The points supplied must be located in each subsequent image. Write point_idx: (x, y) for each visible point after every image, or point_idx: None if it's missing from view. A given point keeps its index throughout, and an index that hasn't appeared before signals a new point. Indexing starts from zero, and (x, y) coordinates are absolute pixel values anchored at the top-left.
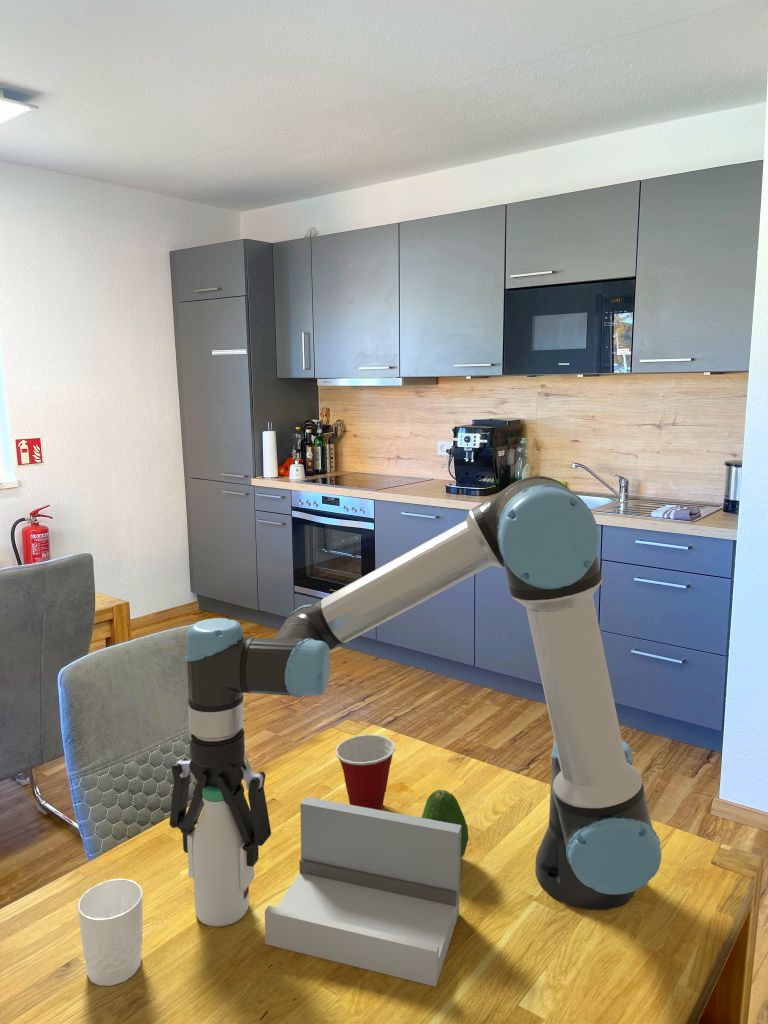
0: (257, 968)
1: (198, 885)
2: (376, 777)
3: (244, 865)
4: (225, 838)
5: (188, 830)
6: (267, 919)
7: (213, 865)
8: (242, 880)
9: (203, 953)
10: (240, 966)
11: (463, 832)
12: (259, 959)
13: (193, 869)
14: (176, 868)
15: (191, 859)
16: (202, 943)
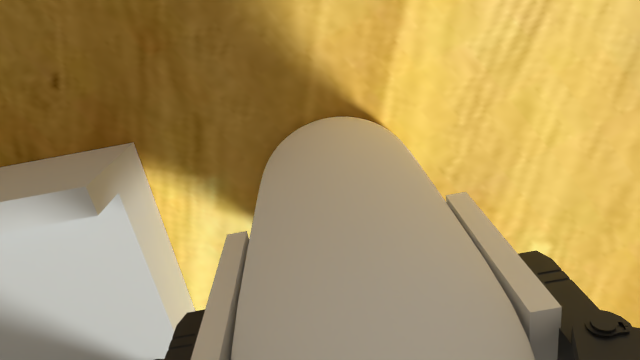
0: (78, 53)
1: (384, 160)
2: None
3: (209, 300)
4: None
5: (575, 338)
6: (89, 176)
7: (311, 224)
8: (232, 253)
9: (265, 20)
10: (127, 34)
11: None
12: (101, 85)
13: (444, 203)
14: (569, 252)
15: (480, 234)
16: (298, 53)
